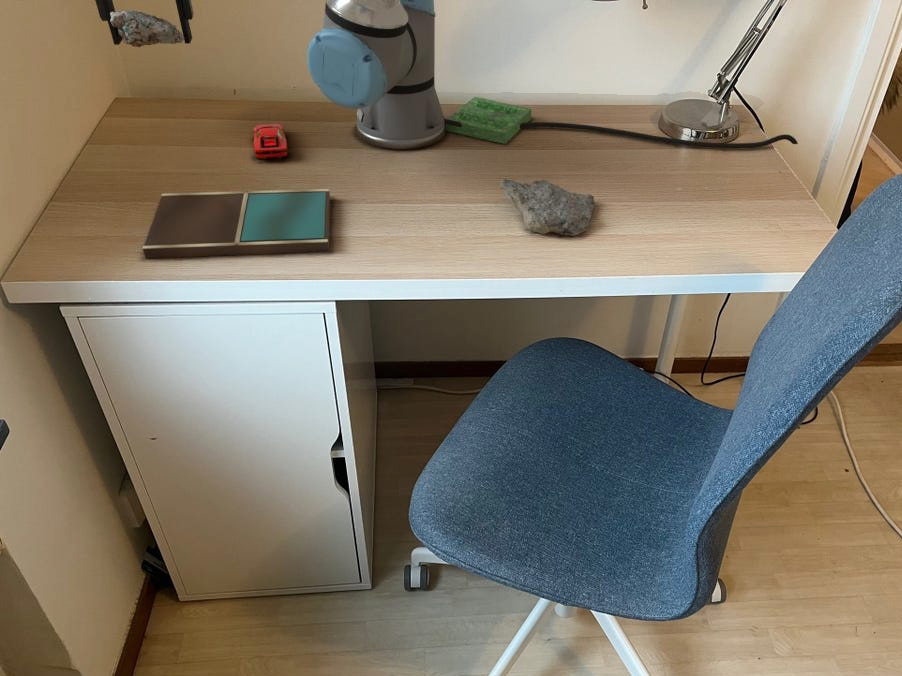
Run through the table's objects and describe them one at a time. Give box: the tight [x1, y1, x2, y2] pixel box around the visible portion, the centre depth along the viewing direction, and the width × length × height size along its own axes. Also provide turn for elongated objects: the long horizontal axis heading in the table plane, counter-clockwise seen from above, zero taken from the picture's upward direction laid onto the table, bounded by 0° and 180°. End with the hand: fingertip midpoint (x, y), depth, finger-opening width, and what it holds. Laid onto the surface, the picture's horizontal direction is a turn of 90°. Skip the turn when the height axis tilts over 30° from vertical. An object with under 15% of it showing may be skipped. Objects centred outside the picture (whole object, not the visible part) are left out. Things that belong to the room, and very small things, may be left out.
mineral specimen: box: [110, 10, 185, 48], centre depth 123 cm, size 10×12×6 cm
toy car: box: [253, 123, 289, 160], centre depth 128 cm, size 12×5×3 cm, turn 14°
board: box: [142, 188, 331, 259], centre depth 109 cm, size 24×15×2 cm, turn 97°
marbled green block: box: [445, 96, 532, 145], centre depth 138 cm, size 11×12×2 cm
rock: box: [499, 178, 596, 237], centre depth 115 cm, size 14×4×15 cm
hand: (153, 41), depth 125 cm, fingers closed on mineral specimen, 10 cm apart
